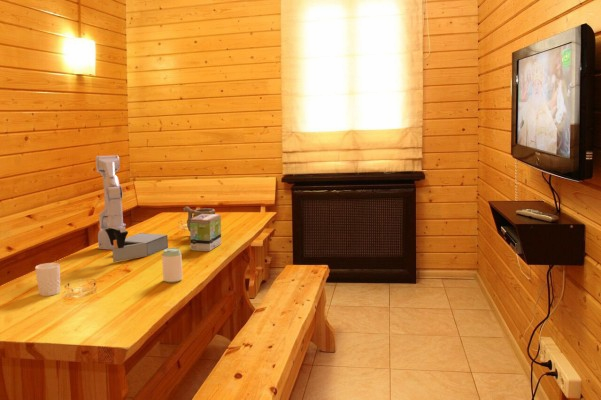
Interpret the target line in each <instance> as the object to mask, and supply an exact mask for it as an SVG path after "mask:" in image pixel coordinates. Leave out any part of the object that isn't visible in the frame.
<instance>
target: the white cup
mask: <svg viewBox="0 0 601 400" xmlns="http://www.w3.org/2000/svg"><path fill="white" fill-rule="evenodd" d="M60 266H61V264H60V263H58V262H46V263H40V264H38V265H36V266H35V267H34V269H35V275H36V282H37V287H38V293H39V294H38V295H40V296H42V297H51V296H55V295H58V294H60V292H61V267H60Z"/></svg>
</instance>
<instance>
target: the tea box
mask: <svg viewBox="0 0 601 400" xmlns="http://www.w3.org/2000/svg"><path fill="white" fill-rule="evenodd" d="M221 218H222V217H221V214H217V213H215V214H201V215H199V216H196V217H194V218H193V217H192V219H190V231H189V233H190V235H189V236H190V238H189V239H190V240H189V241H190V242H189V243H190V244H189V245H190V250H191V251H197V252H199V251H200V252H211V251H212V250H214V249H215V248H216V247H218V246H220V245H221V244H222V219H221Z"/></svg>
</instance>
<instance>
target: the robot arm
mask: <svg viewBox="0 0 601 400" xmlns="http://www.w3.org/2000/svg"><path fill="white" fill-rule="evenodd" d="M120 167H121V166H120V157H119V155H118V154H116V155H115V154H113V155H96V156H95V168H96V172H97V174H101V177H102V181H103V183H102V185H103V196H104V208H103V210H101V211H100V212H99V214H98V215H99V217H98V219H99V220H98V221H99V228H100V229H99V230H98V232H97V241H98V242H97V243H98V244H97V245H98V247H97V249H99V250H100V249H101V250H108V251H109V250H111V251H113V248H114V244H113V240H117V246H118V248H124V243H125V239H126V238H127V236H128V234H129V231H127V229H126V226H127V224H126V223H124V217H123V216H124V214H123V201H122V200H123V198H124V195H123V188H122V185H121V184H120V180H119V176H117V175H116V173H117V172H119V170H120Z"/></svg>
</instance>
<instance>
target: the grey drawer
mask: <svg viewBox="0 0 601 400" xmlns="http://www.w3.org/2000/svg"><path fill="white" fill-rule="evenodd" d="M113 244H114V248H113V250H112V258H113V259H112V261H113V263H116V262H121V261H127V260H133V259H137V258H142V257H148V256H147V243H146V242H144V243H138V244H133V245H127V246H124V248H118V246H117V240H113Z"/></svg>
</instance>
